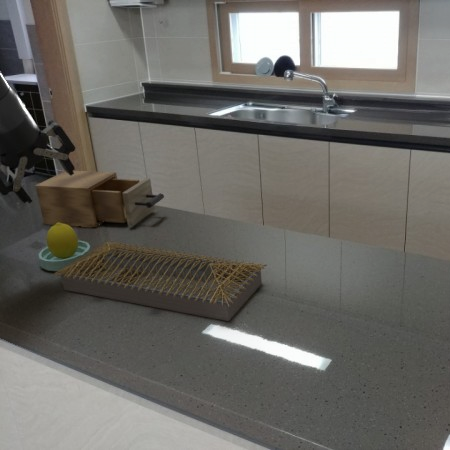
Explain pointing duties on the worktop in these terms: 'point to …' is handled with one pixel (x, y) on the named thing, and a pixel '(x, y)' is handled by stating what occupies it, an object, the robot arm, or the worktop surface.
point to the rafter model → (166, 266)
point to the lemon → (62, 241)
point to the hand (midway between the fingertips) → (49, 186)
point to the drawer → (124, 200)
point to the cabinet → (71, 198)
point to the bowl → (56, 264)
